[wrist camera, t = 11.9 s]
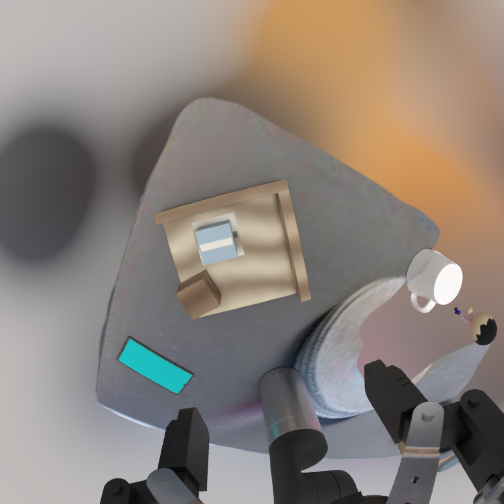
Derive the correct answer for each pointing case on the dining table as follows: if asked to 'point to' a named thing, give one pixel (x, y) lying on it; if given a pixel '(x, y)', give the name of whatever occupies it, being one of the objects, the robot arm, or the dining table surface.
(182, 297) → the walnut block
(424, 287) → the mug
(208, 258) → the block
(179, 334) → the dining table surface
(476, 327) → the toy
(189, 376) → the flat teal bar
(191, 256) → the tray
